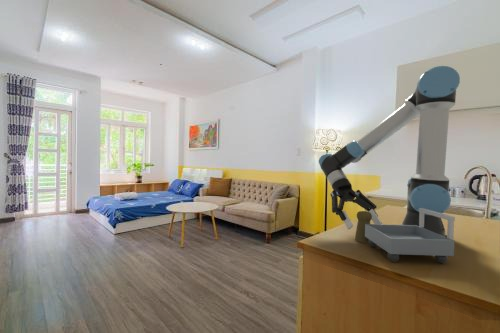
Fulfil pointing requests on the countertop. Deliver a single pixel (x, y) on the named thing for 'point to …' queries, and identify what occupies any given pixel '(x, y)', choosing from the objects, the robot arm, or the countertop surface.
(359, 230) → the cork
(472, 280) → the countertop surface
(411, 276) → the countertop surface
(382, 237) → the cart
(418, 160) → the robot arm
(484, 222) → the countertop surface
